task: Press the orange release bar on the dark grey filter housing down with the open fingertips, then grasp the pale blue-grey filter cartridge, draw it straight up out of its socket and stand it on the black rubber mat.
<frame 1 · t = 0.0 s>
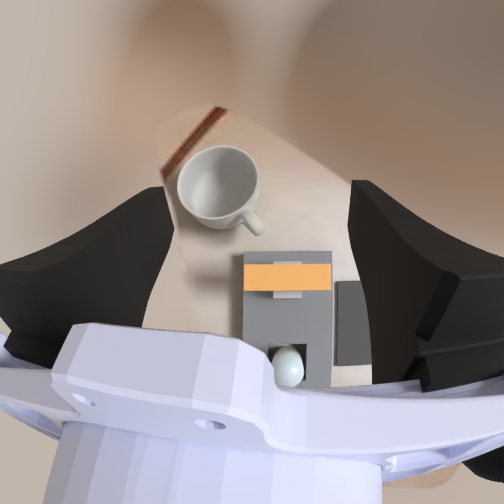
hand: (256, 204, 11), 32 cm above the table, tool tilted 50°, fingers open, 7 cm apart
housing: (287, 325, 42), on the table
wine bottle: (447, 422, 36), on the table
teacup: (233, 208, 46), on the table
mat: (377, 322, 40), on the table
plunger: (287, 278, 37), point 6 cm above the table, slide at 0.0 cm
cartridge: (287, 359, 41), resting in housing
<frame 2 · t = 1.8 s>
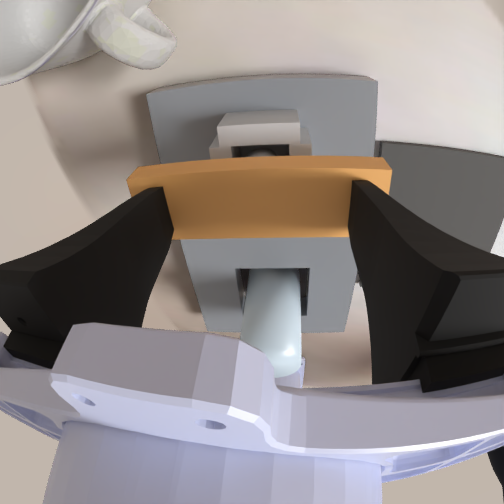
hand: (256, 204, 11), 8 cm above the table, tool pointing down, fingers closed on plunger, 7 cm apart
housing: (271, 222, 21), on the table
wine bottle: (483, 341, 29), on the table
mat: (442, 223, 20), on the table
plunger: (259, 183, 13), point 6 cm above the table, slide at 0.5 cm, touching gripper
cartridge: (274, 275, 24), resting in housing
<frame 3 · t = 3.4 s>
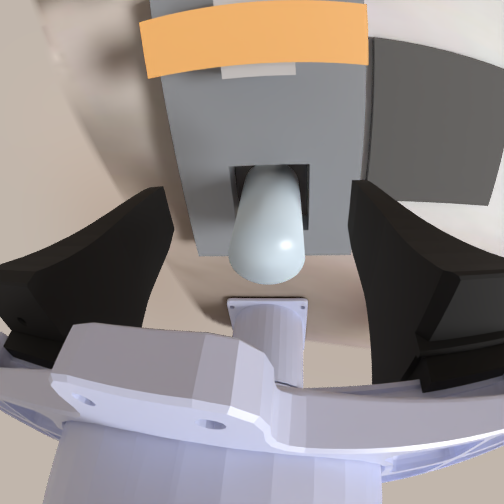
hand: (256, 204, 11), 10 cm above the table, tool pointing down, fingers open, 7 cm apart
housing: (267, 120, 19), on the table
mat: (445, 130, 17), on the table
plunger: (255, 33, 12), point 4 cm above the table, slide at 2.1 cm
cartridge: (271, 185, 22), resting in housing
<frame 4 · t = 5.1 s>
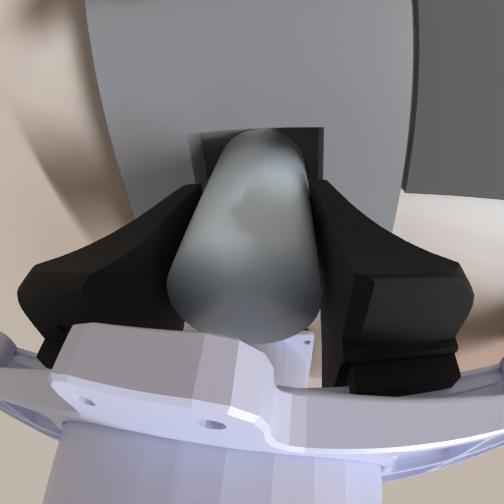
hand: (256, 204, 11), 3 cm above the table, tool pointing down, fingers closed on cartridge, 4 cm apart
housing: (252, 63, 11), on the table
cartridge: (261, 169, 14), resting in housing, touching gripper
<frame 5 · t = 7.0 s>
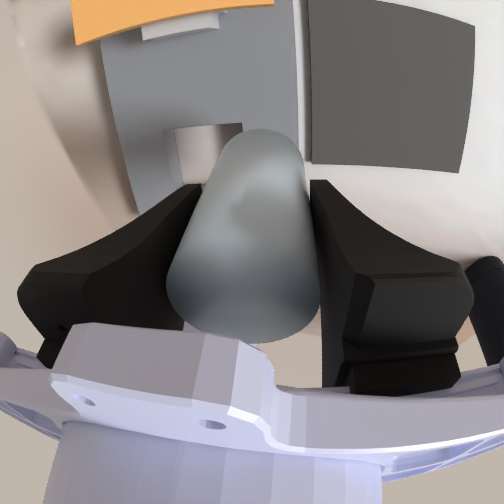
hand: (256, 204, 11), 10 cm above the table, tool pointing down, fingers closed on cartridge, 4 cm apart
housing: (203, 85, 18), on the table
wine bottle: (480, 277, 26), on the table
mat: (398, 86, 16), on the table
cartridge: (260, 168, 14), point 7 cm above the table, touching gripper
when the fingers open (5 cm above the table, at t = 9.0 s): cartridge drops 1 cm, resting on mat.
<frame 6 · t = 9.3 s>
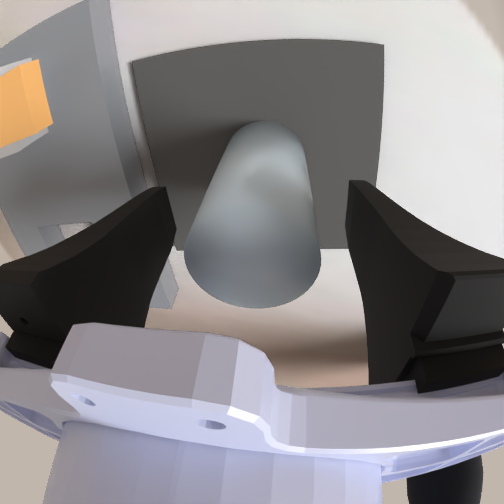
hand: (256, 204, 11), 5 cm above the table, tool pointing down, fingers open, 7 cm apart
housing: (64, 177, 17), on the table
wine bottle: (419, 341, 25), on the table
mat: (263, 154, 15), on the table
cartridge: (265, 157, 15), resting on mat
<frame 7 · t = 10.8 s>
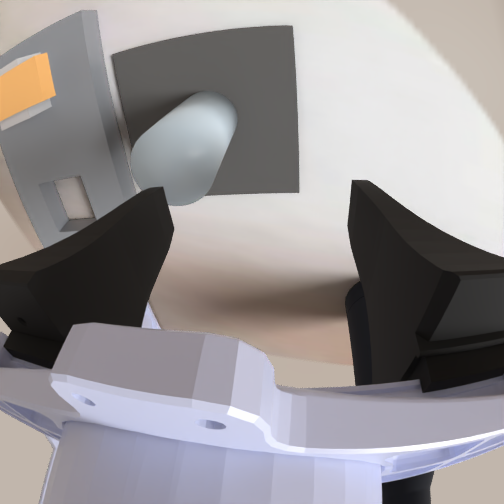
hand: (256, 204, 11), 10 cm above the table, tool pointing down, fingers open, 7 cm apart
housing: (62, 144, 21), on the table
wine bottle: (375, 295, 29), on the table
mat: (207, 117, 19), on the table
plunger: (10, 94, 14), point 4 cm above the table, slide at 2.1 cm
cartridge: (207, 119, 19), resting on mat
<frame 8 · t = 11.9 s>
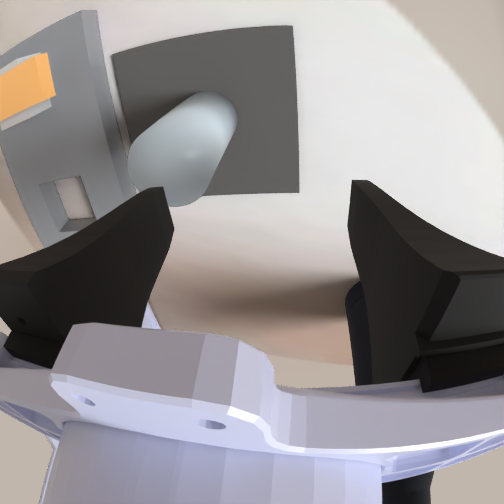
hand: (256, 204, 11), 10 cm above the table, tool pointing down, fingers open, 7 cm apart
housing: (62, 144, 21), on the table
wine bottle: (375, 295, 29), on the table
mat: (207, 117, 19), on the table
plunger: (10, 94, 14), point 4 cm above the table, slide at 2.1 cm
cartridge: (207, 119, 19), resting on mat
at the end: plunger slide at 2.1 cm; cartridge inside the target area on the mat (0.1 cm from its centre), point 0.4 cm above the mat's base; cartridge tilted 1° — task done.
